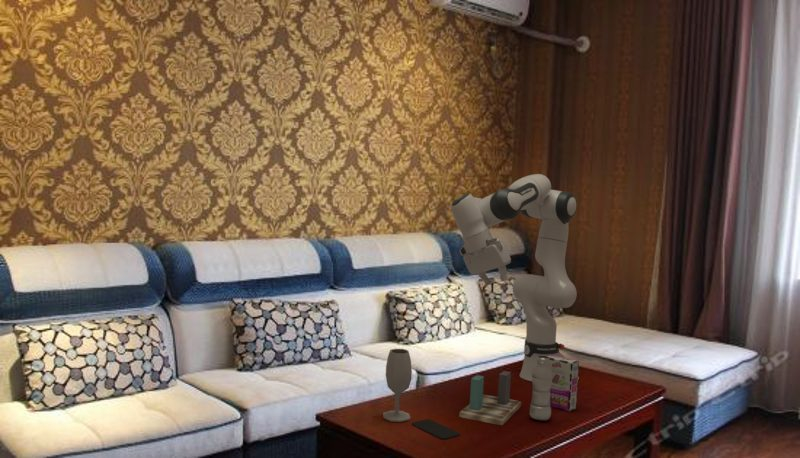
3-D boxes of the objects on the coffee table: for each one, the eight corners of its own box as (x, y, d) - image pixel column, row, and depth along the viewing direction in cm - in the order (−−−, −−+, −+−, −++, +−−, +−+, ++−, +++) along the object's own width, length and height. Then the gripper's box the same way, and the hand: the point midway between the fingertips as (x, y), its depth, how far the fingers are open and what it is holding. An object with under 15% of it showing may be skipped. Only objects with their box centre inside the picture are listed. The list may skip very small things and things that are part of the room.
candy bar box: (576, 409, 232) (580, 360, 231) (569, 412, 229) (572, 363, 228) (547, 400, 240) (550, 353, 239) (539, 403, 236) (542, 355, 235)
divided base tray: (459, 416, 219) (459, 409, 219) (480, 398, 238) (481, 392, 238) (502, 425, 214) (502, 418, 213) (521, 406, 232) (521, 399, 232)
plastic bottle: (550, 424, 217) (554, 360, 215) (528, 421, 218) (532, 358, 217) (550, 417, 223) (554, 355, 222) (529, 414, 224) (532, 353, 223)
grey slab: (497, 404, 228) (499, 374, 227) (501, 400, 232) (503, 370, 231) (504, 406, 226) (506, 375, 226) (509, 401, 231) (511, 372, 230)
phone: (428, 418, 216) (461, 433, 204) (428, 421, 216) (461, 436, 204) (409, 423, 211) (442, 438, 199) (409, 425, 211) (442, 441, 199)
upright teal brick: (469, 409, 221) (471, 378, 220) (474, 405, 226) (476, 375, 225) (477, 411, 220) (478, 380, 219) (482, 407, 225) (483, 376, 224)
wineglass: (378, 414, 218) (381, 348, 217) (403, 411, 222) (406, 346, 220) (388, 424, 210) (391, 355, 209) (415, 421, 214) (418, 353, 212)
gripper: (504, 233, 218) (522, 274, 218) (471, 245, 236) (487, 283, 236) (489, 240, 215) (507, 281, 215) (456, 252, 233) (473, 290, 233)
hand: (496, 282), depth 225 cm, fingers open, 8 cm apart
